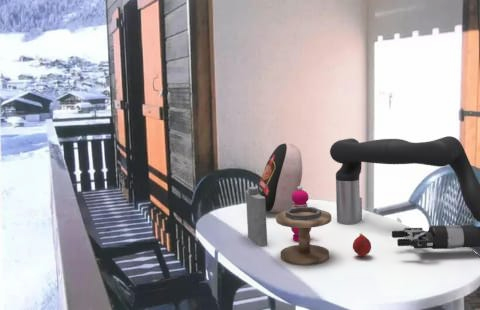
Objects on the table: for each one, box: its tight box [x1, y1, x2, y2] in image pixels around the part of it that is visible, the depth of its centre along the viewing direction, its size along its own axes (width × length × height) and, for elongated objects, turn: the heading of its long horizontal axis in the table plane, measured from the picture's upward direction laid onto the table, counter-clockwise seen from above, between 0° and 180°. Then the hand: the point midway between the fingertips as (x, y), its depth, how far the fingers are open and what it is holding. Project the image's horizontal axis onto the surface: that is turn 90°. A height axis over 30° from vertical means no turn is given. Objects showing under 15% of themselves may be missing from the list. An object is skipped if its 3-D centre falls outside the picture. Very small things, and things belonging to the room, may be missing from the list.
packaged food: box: [257, 142, 303, 214], centre depth 239 cm, size 22×20×30 cm
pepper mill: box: [290, 185, 312, 243], centre depth 199 cm, size 7×7×20 cm
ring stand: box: [275, 206, 332, 266], centre depth 181 cm, size 18×18×16 cm
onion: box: [352, 232, 372, 258], centre depth 179 cm, size 6×6×8 cm
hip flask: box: [245, 186, 268, 248], centre depth 201 cm, size 16×4×20 cm, turn 16°
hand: (394, 238), depth 178 cm, fingers open, 8 cm apart
